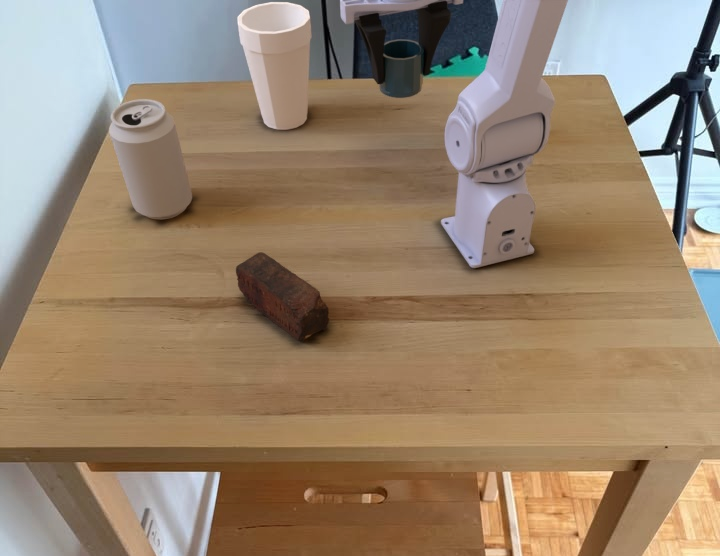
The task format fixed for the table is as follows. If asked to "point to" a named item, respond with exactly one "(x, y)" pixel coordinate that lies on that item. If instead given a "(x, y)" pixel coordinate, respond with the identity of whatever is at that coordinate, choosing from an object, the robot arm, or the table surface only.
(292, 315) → the brick
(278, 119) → the foam cup
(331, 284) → the table surface
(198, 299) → the table surface
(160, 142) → the can
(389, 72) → the cup
